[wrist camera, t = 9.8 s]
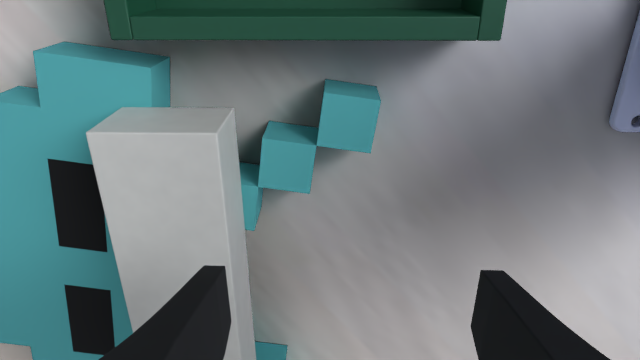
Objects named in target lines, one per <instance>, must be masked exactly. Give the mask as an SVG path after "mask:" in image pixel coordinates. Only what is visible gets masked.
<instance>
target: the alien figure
mask: <svg viewBox="0 0 640 360" xmlns="http://www.w3.org/2000/svg"><path fill="white" fill-rule="evenodd" d="M33 55H34V62H35V70H36V77H37V84H38V89H37V88H30V87H23V86H17V87H15V88H12V89H10V90H7V91H5V92H2V93H0V343H7V344H15V345H24V346H30V347H31V352H32V357H33V360H98V359H100V358H101V357H103V356H104V355H105V354H107V353H108V352H109V351H111V350H112V349H114V348H115V347H116V346H118V345H119V344H120V343H121V342H123V341H124V340H125V339H127V338H128V337H129V336H130V335H131V334H133V330H132V326H131V322H130V318H129V314H128V309H127V305H126V301H125V297H124V293H123V288H122V284H121V280H120V276H119V272H118V267H117V263H116V259H115V255H114V251H113V246H112V242H111V238H110V234H109V230H108V225H107V221H106V217H105V213H104V209H103V204H102V200H101V196H100V192H99V188H98V183H97V179H96V175H95V171H94V167H93V162H92V158H91V154H90V150H89V145H88V141H87V137H86V132H87V131H89V130H90V129H92V128H93V127H94V126H96V125H97V124H99V123H100V122H102V121H103V120H104V119H106V118H107V117H109V116H110V115H112V114H113V113H114V112H116V111H117V110H119V109H120V108H122V107H170V57H168V56H161V55H154V54H147V53H140V52H133V51H126V50H119V49H112V48H105V47H98V46H91V45H84V44H77V43H70V42H62V43H58V44H55V45H52V46H49V47H45V48H42V49H39V50H35V51H33ZM380 103H381V99H380V96H379V93H378V90H377V87H376V86H370V85H363V84H356V83H349V82H342V81H335V80H328V79H325V85H324V92H323V99H322V106H321V113H320V120H319V127H318V128H317V127H309V126H302V125H295V124H288V123H281V122H274V121H269V123H268V125H267V128H266V130H265V133H264V135H263V138H262V147H261V158H260V165H256V164H249V163H242V162H239V167H240V178H241V190H242V201H243V213H244V224H245V230H251V231H254V230H255V227H256V223H257V220H258V216H259V213H260V210H261V206H262V195H263V188H270V189H278V190H285V191H292V192H300V193H307V194H310V188H311V181H312V174H313V167H314V160H315V153H316V146H321V147H329V148H336V149H343V150H350V151H358V152H365V153H371V148H372V143H373V138H374V133H375V128H376V123H377V118H378V113H379V108H380ZM255 351H256V360H286V353H287V345H279V344H271V343H263V342H255Z"/></svg>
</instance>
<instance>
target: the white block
mask: <svg viewBox="0 0 640 360" xmlns="http://www.w3.org/2000/svg"><path fill="white" fill-rule="evenodd" d="M86 137H87V141H88V145H89V150H90V154H91V158H92V162H93V167H94V171H95V175H96V179H97V183H98V188H99V192H100V196H101V200H102V204H103V209H104V213H105V217H106V221H107V225H108V230H109V234H110V238H111V242H112V246H113V251H114V255H115V259H116V263H117V267H118V272H119V276H120V280H121V284H122V288H123V293H124V297H125V301H126V305H127V309H128V314H129V318H130V322H131V326H132V330H133V333H134V332H135V331H136V330H137V329H138V328H139V327H141V326H142V325H143V324H144V323H145V322H146V321H147V320H149V319H150V318H151V317H152V316H153V315H154V314H155V313H156V312H157V311H158V310H159V309H161V308H162V307H163V306H164V305H165V304H166V303H167V302H168V301H169V300H170V299H171V298H172V297H173V296H174V295H175V294H176V293H177V292H178V291H179V290H180V289H181V288H182V287H183V286H184V285H185V284H186V283H187V282H188V281H189V280H190V279H191V278H192V277H193V276H194V275H195V274H196V273H197V272H198V271H199V270H200V269H201V268H202V267H203V266H204V265H209V266H225V269H226V278H227V286H228V295H229V303H230V312H231V321H232V322H231V327H230V332H229V337H228V342H227V347H226V351H225V356H224V359H223V360H256V351H255V339H254V328H253V316H252V305H251V293H250V282H249V270H248V259H247V247H246V236H245V224H244V213H243V201H242V190H241V178H240V167H239V155H238V144H237V132H236V121H235V109H234V108H200V107H122V108H120V109H119V110H117V111H116V112H114V113H113V114H112V115H110V116H109V117H107V118H106V119H104V120H103V121H102V122H100V123H99V124H97V125H96V126H94V127H93V128H92V129H90V130H89V131H87V132H86Z"/></svg>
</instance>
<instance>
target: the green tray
mask: <svg viewBox="0 0 640 360" xmlns="http://www.w3.org/2000/svg"><path fill="white" fill-rule="evenodd" d="M506 3H507V0H104V5H105V10H106V15H107V20H108V26H109V31H110V36H111V39H112V40H133V39H134V40H424V41H475V40H478V41H499V40H500V39H501V34H502V28H503V22H504V15H505V9H506Z"/></svg>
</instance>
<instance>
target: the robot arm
mask: <svg viewBox="0 0 640 360" xmlns="http://www.w3.org/2000/svg"><path fill="white" fill-rule="evenodd" d="M636 116H639V119H638V121H637V122H636V123H634V124H631V121H632V119H633V118H634V117H636ZM609 124H610V126H611V127H612V128H613V129H615V130H617V131H619V132H640V12H639V15H638V19H637V22H636V26H635V29H634V33H633V37H632V40H631V44H630V47H629V51H628V54H627V58H626V62H625V65H624V69H623V72H622V76H621V79H620V83H619V86H618V90H617V94H616V97H615V101H614V104H613V108H612V111H611V115H610V119H609ZM231 322H232V321H231V312H230V303H229V295H228V286H227V278H226V269H225V266H209V265H204V266H203V267H202V268H201V269H200V270H199V271H198V272H197V273H196V274H195V275H194V276H193V277H192V278H191V279H190V280H189V281H188V282H187V283H186V284H185V285H184V286H183V287H182V288H181V289H180V290H179V291H178V292H177V293H176V294H175V295H174V296H173V297H172V298H171V299H170V300H169V301H168V302H167V303H166V304H165V305H164V306H163V307H162V308H161V309H159V310H158V311H157V312H156V313H155V314H154V315H153V316H152V317H151V318H150V319H149V320H147V321H146V322H145V323H144V324H143V325H142V326H141V327H139V328H138V329H137V330H136V331H135V332H134V333H133V334H131V335H130V336H129V337H128V338H127V339H125V340H124V341H123V342H121V343H120V344H119V345H118V346H116V347H115V348H114V349H112V350H111V351H109V352H108V353H107V354H105V355H104V356H103V357H101V358H100V359H98V360H223V359H224V356H225V351H226V347H227V342H228V337H229V332H230V327H231ZM471 330H472V334H473V338H474V343H475V347H476V351H477V355H478V359H479V360H610V359H609V358H607V357H606V356H605V355H603V354H602V353H600V352H599V351H598V350H596V349H595V348H594V347H592V346H591V345H590V344H588V343H587V342H586V341H585V340H583V339H582V338H581V337H579V336H578V335H577V334H576V333H574V332H573V331H572V330H571V329H569V328H568V327H567V326H566V325H564V324H563V323H562V322H561V321H560V320H558V319H557V318H556V317H555V316H554V315H553V314H551V313H550V312H549V311H548V310H547V309H546V308H544V307H543V306H542V305H541V304H540V303H539V302H538V301H537V300H535V299H534V298H533V297H532V296H531V295H530V294H529V293H528V292H527V291H526V290H524V289H523V288H522V287H521V286H520V285H519V284H518V283H517V282H516V281H514V280H513V279H512V278H511V277H510V276H509V275H508V274H507V273H505V272H504V271H497V270H481V272H480V278H479V284H478V289H477V295H476V300H475V306H474V311H473V317H472V322H471Z"/></svg>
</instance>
